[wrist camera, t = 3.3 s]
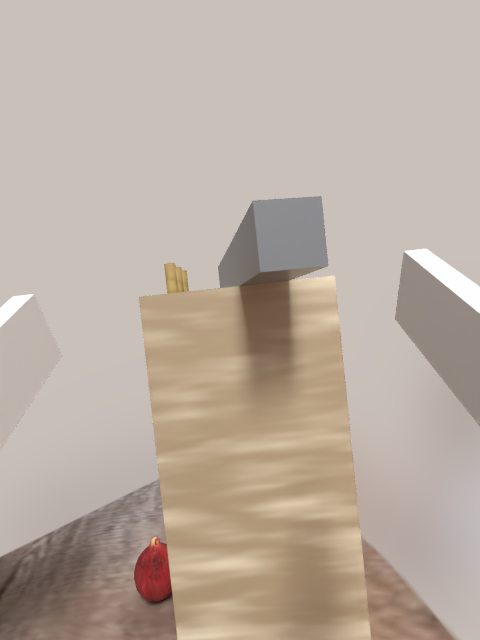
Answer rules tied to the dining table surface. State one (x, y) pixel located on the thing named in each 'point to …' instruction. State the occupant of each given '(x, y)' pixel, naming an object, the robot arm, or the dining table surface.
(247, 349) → the shelf stand
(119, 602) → the dining table surface
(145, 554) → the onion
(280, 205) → the bar
